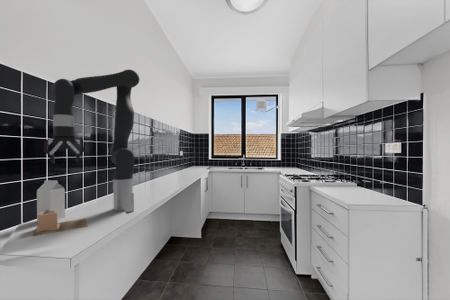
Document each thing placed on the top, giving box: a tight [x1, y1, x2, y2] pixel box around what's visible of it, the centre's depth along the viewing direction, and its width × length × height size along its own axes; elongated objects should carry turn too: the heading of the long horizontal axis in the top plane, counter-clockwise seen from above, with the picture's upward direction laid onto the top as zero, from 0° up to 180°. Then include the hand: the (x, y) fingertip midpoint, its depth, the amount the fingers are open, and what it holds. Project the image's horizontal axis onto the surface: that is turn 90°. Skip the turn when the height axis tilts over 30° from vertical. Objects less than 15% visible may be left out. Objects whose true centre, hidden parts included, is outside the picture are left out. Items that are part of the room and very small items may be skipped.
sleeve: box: [37, 210, 59, 231], centre depth 88 cm, size 6×6×6 cm
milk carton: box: [36, 179, 66, 222], centre depth 100 cm, size 7×7×19 cm
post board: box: [32, 209, 88, 237], centre depth 90 cm, size 17×13×9 cm
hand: (65, 162), depth 97 cm, fingers open, 8 cm apart
